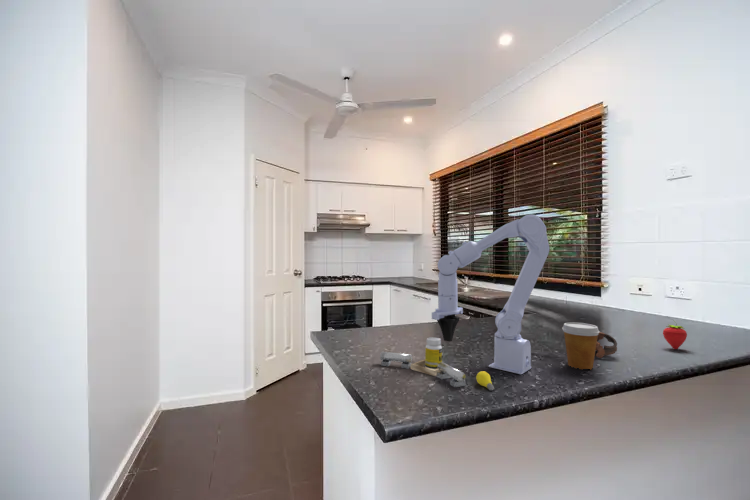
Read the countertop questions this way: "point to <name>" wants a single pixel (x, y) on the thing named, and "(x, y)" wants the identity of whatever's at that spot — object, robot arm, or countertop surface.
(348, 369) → the countertop surface
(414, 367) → the coupling seat
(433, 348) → the supplement bottle
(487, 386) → the light bulb
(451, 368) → the shaft
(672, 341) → the strawberry
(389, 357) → the grey bar handle
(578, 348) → the disposable coffee cup
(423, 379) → the countertop surface
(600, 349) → the pottery mug
